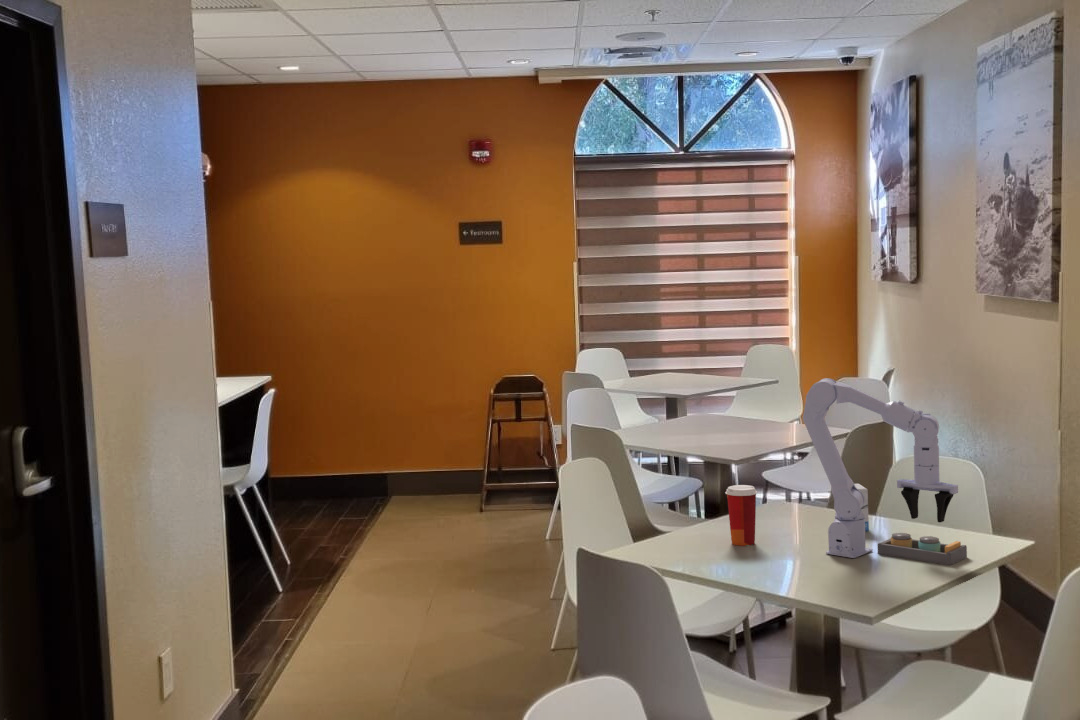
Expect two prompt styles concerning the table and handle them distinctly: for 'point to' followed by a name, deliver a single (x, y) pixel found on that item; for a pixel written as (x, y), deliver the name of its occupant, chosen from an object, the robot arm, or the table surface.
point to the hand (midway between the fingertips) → (927, 519)
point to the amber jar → (901, 540)
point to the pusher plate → (952, 546)
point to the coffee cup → (742, 514)
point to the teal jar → (929, 543)
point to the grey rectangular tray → (923, 552)
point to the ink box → (865, 506)
